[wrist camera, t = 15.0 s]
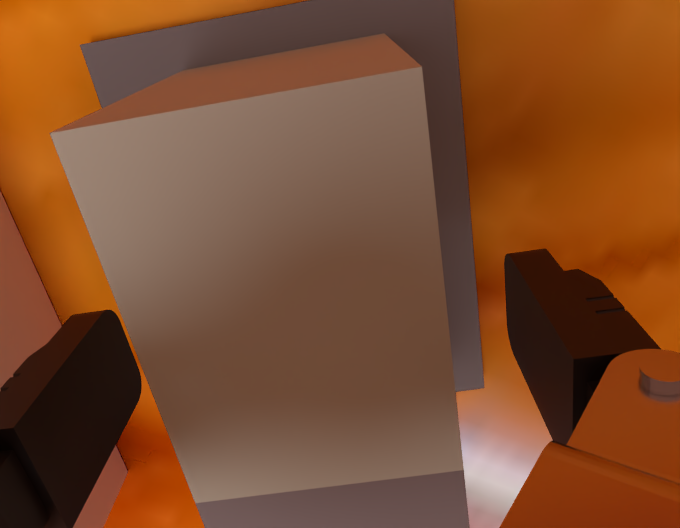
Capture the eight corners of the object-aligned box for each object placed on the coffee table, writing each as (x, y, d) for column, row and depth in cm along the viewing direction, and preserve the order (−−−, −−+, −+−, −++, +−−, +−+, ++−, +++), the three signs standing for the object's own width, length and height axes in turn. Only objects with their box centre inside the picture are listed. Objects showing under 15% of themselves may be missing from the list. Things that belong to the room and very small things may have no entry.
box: (384, 33, 13) (421, 66, 7) (427, 370, 18) (475, 578, 11) (183, 70, 14) (49, 132, 8) (272, 391, 18) (235, 604, 12)
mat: (446, -27, 13) (451, -28, 13) (480, 376, 19) (484, 388, 18) (89, 43, 14) (79, 45, 14) (216, 412, 19) (212, 425, 19)
